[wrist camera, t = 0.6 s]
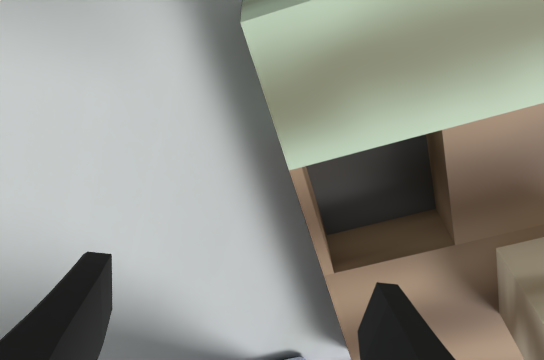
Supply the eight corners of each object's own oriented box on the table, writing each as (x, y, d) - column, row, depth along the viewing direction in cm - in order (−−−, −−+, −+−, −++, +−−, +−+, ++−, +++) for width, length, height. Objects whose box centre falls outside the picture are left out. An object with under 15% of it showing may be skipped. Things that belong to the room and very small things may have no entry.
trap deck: (700, 279, 27) (744, 321, 25) (354, 352, 30) (363, 396, 27) (828, -187, 16) (938, -196, 13) (242, 0, 18) (240, 22, 16)
